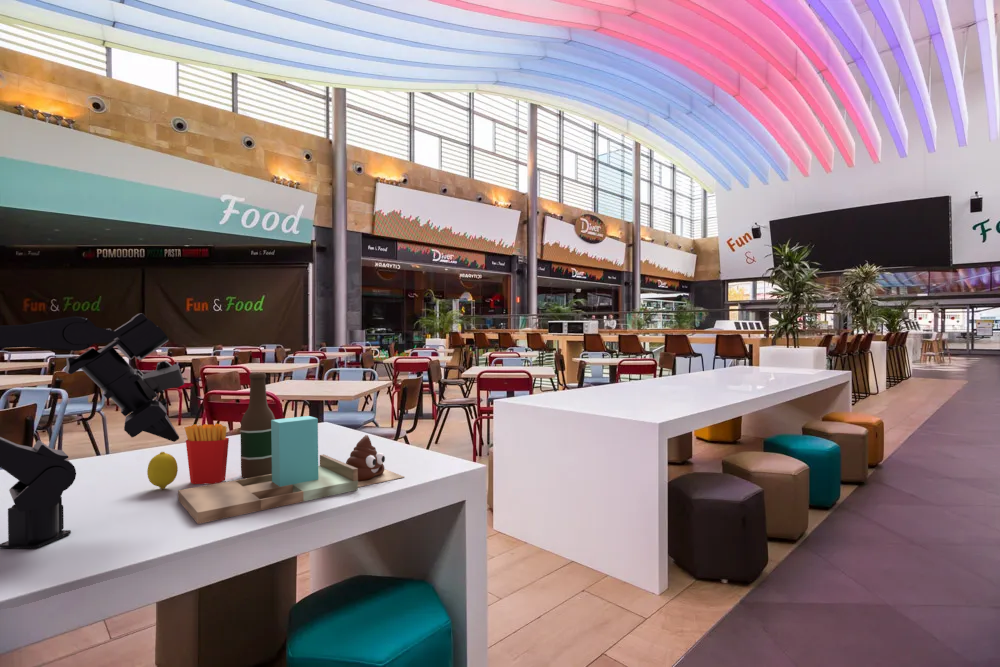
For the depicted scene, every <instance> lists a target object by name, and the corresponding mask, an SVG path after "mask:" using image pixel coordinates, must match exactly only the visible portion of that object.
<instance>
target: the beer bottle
mask: <svg viewBox="0 0 1000 667" xmlns="http://www.w3.org/2000/svg"><path fill="white" fill-rule="evenodd" d="M248 378H249V379H250V384H249V386H250V387H249V401H248V402H249V403H248V406H247V407H248V408H247V409H246V411H245V412H244V414H243V415H242V418H241V422H240V429H239V432H240V472H241V477H242V478H243V479H246V478H251V477H257V476H263V475H269V474H272V441H271V420H276V417H275V414H274V413H273V411H272V410H271V408H270V407H269V404H268V401H267V400H268V399H267V398H268V397H267V387H266V378H267V374H266V373H265V372H252V373H250V374H249V377H248Z"/></svg>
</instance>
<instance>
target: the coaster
mask: <svg viewBox="0 0 1000 667" xmlns="http://www.w3.org/2000/svg"><path fill="white" fill-rule="evenodd" d="M403 478H405V476H404V475H401V474H399V473H396V472H393V471H391V470H389V469H386V468H384V472H383V474H381V475H378V476H377V475H376V476H374V477H373V478H371V479H368V480H364V481H358V488H361V487H366V486H370V485H374V484H379V483H384V482H389V481H393V480H394V481H395V480H399V479H403Z"/></svg>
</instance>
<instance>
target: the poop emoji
mask: <svg viewBox="0 0 1000 667" xmlns="http://www.w3.org/2000/svg"><path fill="white" fill-rule="evenodd" d="M385 461H386V457H385V455H384V453H383V452H377V449H376V447H375V446H373V445H372V441H371V438H370V436H369V435H368V434H365V435H364V436H363V437H362V438H361V439H360V440H358V442H357V444H356V446H354V447H353V450H352V451H351V452H350V454H349V457H348V458H347V459H346V462H345V463H346V464H348V465H350V466H353V467H355V468H358V481H364V480H368V479H371V478H373V477H374V476H376V475H377V476H378V475H381V474H383V472H384V469H385V465H384V463H385Z"/></svg>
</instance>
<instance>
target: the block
mask: <svg viewBox="0 0 1000 667" xmlns="http://www.w3.org/2000/svg"><path fill="white" fill-rule="evenodd" d="M318 421H319V419H318V418H317V417H314V416H310V415H304V416H295V417H287V418H286V417H285V418H278V419H276V418H275V420H271V441H272V482H273V483H275V484H277V485H278V486H280V487H281V486H286V485H291V484H297V483H302V482H307V481H312V480H318V466H319V422H318Z"/></svg>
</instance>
